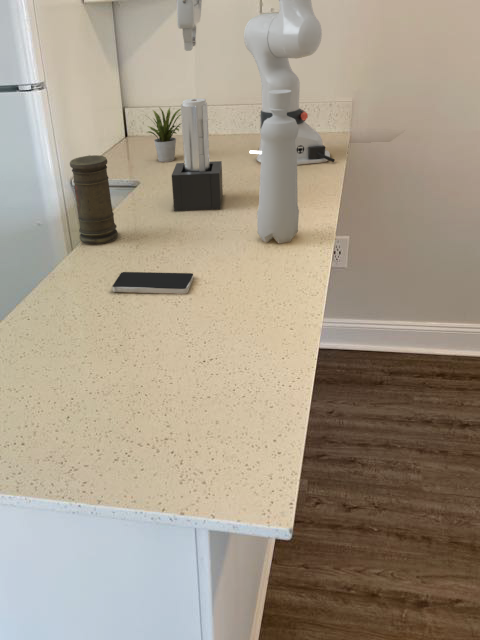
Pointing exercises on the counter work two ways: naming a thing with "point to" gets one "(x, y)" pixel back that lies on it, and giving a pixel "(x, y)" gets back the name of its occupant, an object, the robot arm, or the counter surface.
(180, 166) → the box
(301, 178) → the counter surface
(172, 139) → the house plant
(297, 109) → the robot arm
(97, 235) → the container
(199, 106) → the silver tall cylinder
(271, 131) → the bottle
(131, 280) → the smartphone
